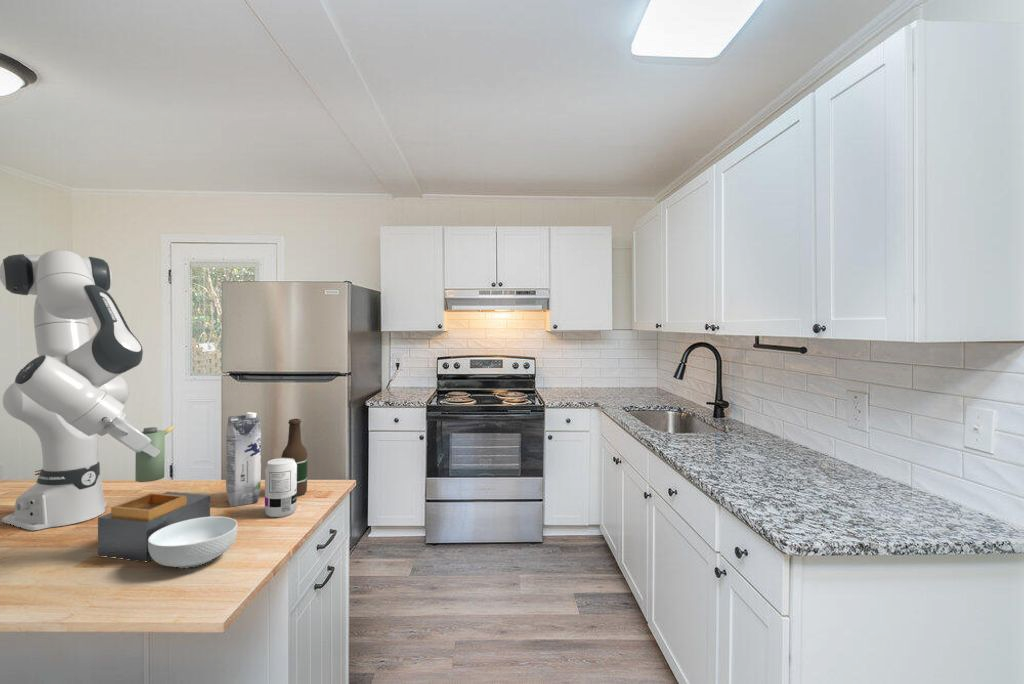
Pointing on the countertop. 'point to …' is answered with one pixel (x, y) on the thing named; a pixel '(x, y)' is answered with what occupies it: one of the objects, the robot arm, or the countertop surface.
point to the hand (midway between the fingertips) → (153, 451)
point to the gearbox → (145, 522)
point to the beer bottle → (297, 455)
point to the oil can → (149, 465)
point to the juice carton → (243, 459)
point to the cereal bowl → (192, 541)
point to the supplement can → (280, 487)
